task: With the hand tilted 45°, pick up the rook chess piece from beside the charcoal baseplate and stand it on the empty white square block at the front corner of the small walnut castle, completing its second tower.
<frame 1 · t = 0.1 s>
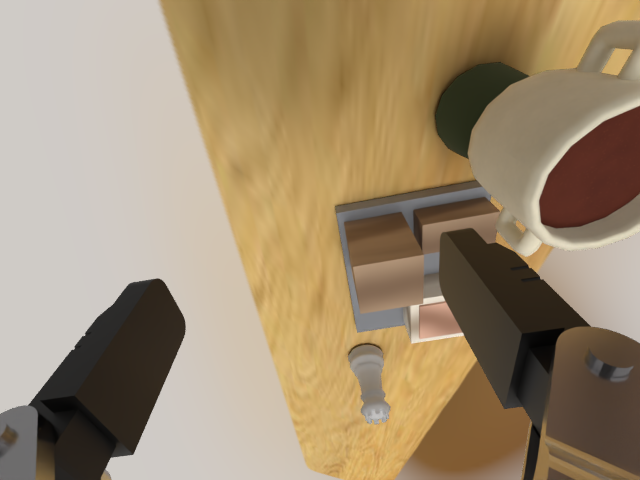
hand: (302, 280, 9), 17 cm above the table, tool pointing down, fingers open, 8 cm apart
rook chess piece: (364, 352, 40), on the table
baseplate: (410, 263, 32), on the table
character mug: (473, 108, 23), on the table
white square block: (433, 295, 33), resting on baseplate
walnut castle blocks: (424, 253, 26), on the baseplate, point 4 cm above the table
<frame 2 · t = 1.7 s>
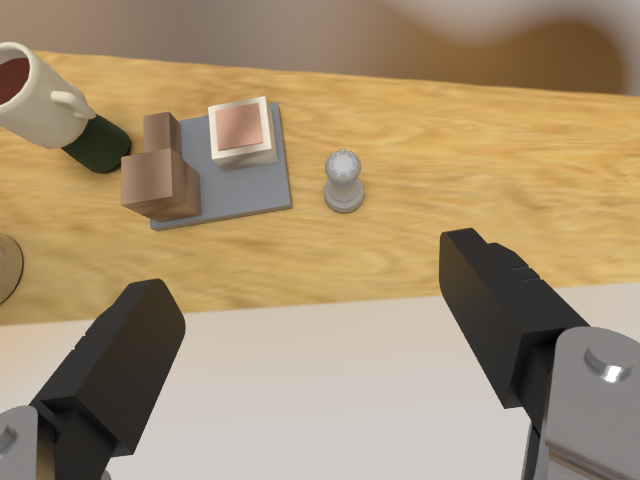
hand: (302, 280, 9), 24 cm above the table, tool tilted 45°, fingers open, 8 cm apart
rook chess piece: (344, 195, 35), on the table
baseplate: (219, 168, 37), on the table
character mug: (110, 152, 40), on the table
white square block: (247, 141, 36), resting on baseplate
walnut castle blocks: (163, 158, 34), on the baseplate, point 4 cm above the table
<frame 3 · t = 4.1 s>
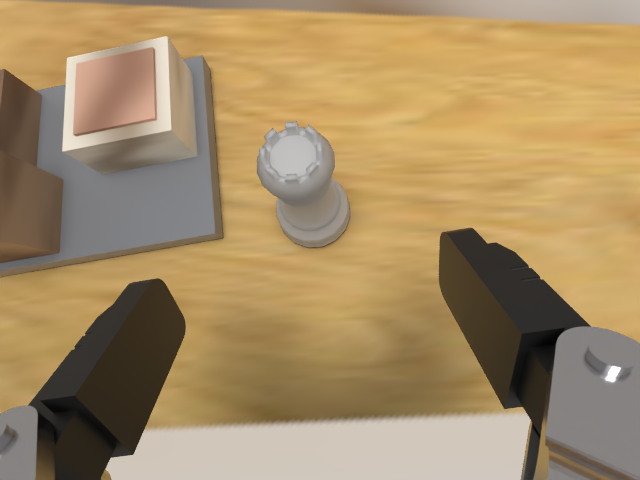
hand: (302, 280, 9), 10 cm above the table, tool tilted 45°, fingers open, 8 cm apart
rook chess piece: (315, 215, 20), on the table
baseplate: (106, 168, 22), on the table
white square block: (149, 122, 21), resting on baseplate
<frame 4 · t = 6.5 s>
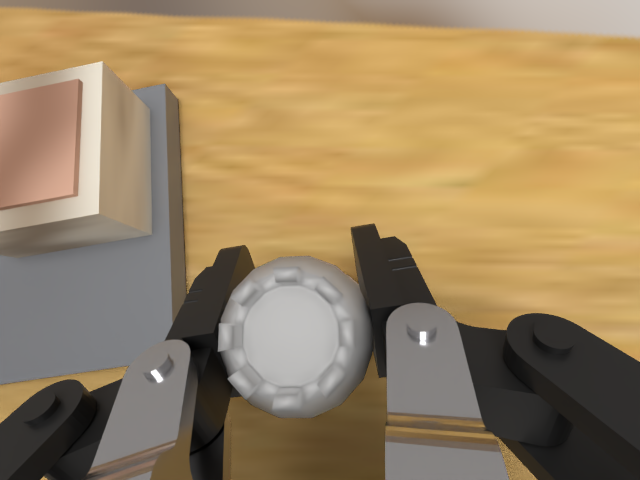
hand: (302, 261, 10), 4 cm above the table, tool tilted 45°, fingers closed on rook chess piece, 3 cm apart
rook chess piece: (323, 322, 14), on the table, touching gripper
baseplate: (29, 241, 16), on the table
white square block: (86, 180, 15), resting on baseplate
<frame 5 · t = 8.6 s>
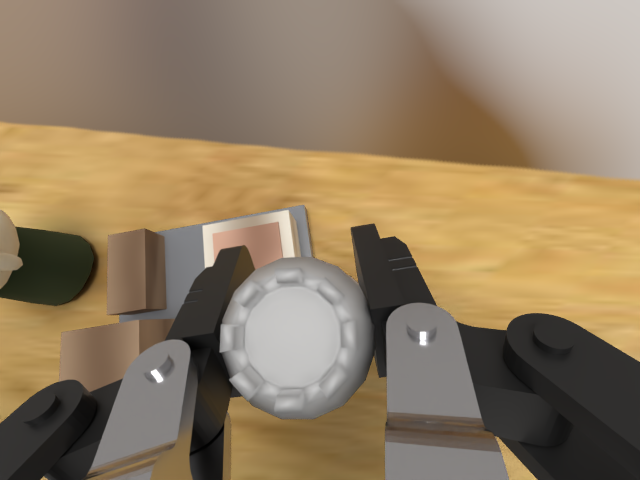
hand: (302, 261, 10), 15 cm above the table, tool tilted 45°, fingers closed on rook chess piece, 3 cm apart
rook chess piece: (324, 323, 14), point 11 cm above the table, touching gripper
baseplate: (221, 301, 26), on the table
character mug: (69, 270, 28), on the table
white square block: (261, 267, 25), resting on baseplate
walnut castle blocks: (134, 309, 22), on the baseplate, point 4 cm above the table
when the fingers open (10 cm above the table, at t = 10.8 s): rook chess piece drops 1 cm, resting on white square block.
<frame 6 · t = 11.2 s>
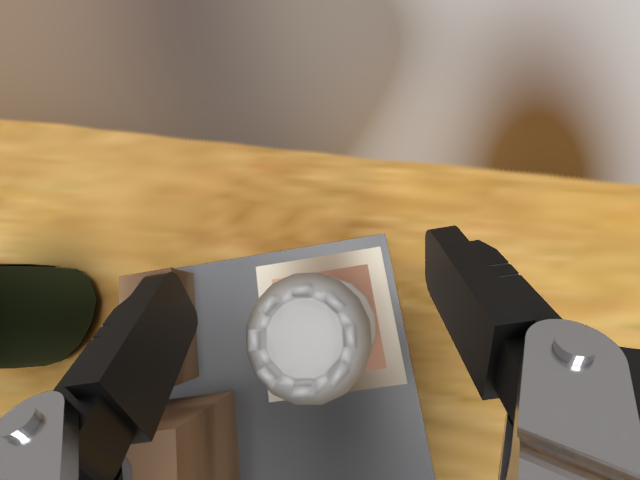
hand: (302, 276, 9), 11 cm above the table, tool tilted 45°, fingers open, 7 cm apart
rook chess piece: (328, 325, 15), point 4 cm above the table, touching white square block
baseplate: (271, 363, 19), on the table
character mug: (63, 313, 21), on the table
white square block: (330, 320, 18), resting on baseplate
walnut castle blocks: (159, 390, 15), on the baseplate, point 4 cm above the table
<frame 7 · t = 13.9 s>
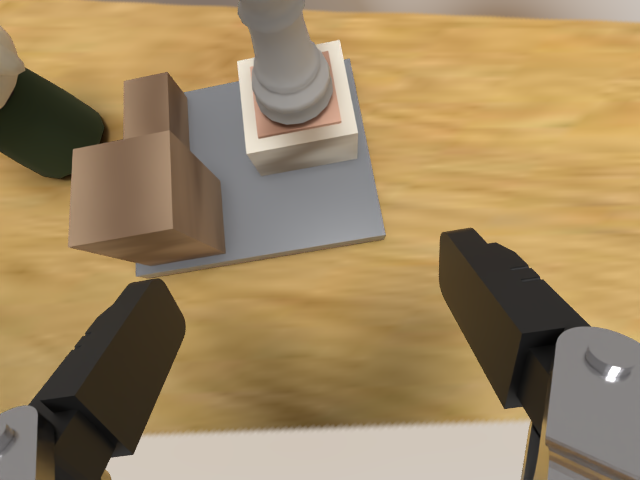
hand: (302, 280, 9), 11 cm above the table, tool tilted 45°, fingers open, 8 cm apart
rook chess piece: (295, 97, 18), point 4 cm above the table, touching white square block
baseplate: (253, 170, 22), on the table
character mug: (74, 145, 25), on the table
white square block: (302, 124, 21), resting on baseplate
walnut castle blocks: (157, 152, 18), on the baseplate, point 4 cm above the table
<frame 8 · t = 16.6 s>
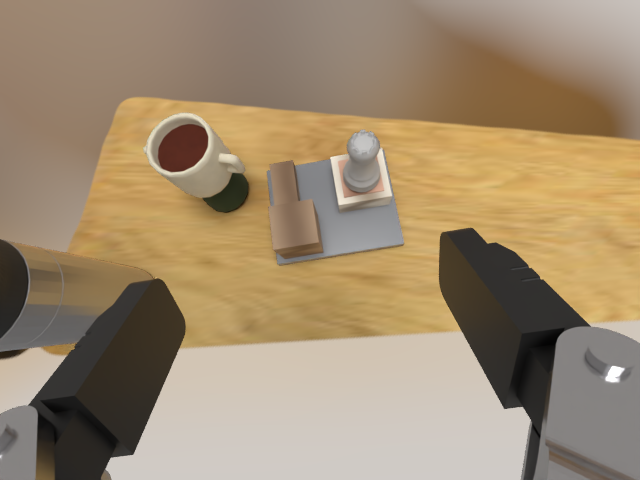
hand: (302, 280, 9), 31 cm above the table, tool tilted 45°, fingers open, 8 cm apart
rook chess piece: (361, 177, 38), point 4 cm above the table, touching white square block
baseplate: (332, 208, 42), on the table
character mug: (229, 192, 44), on the table
white square block: (359, 185, 41), resting on baseplate
walnut castle blocks: (293, 203, 38), on the baseplate, point 4 cm above the table
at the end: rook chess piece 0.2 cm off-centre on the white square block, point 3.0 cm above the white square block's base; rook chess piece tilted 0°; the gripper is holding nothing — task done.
